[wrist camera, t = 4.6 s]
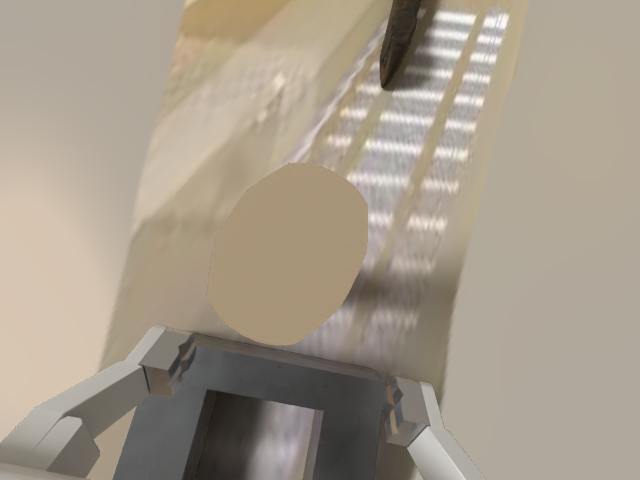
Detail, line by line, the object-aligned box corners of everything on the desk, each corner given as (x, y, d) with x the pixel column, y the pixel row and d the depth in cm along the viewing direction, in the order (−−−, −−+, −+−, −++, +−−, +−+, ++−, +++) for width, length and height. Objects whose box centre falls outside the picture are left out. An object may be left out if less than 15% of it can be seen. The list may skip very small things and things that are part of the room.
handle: (333, 261, 24) (392, 202, 10) (300, 325, 23) (310, 372, 8) (288, 236, 24) (277, 142, 10) (251, 299, 23) (174, 298, 8)
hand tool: (396, -30, 34) (412, -81, 29) (425, -20, 34) (445, -69, 29) (357, 84, 29) (369, 44, 25) (391, 95, 29) (408, 58, 25)
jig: (341, 572, 19) (352, 642, 15) (119, 537, 18) (72, 601, 14) (370, 368, 22) (385, 382, 18) (183, 331, 22) (159, 337, 18)
